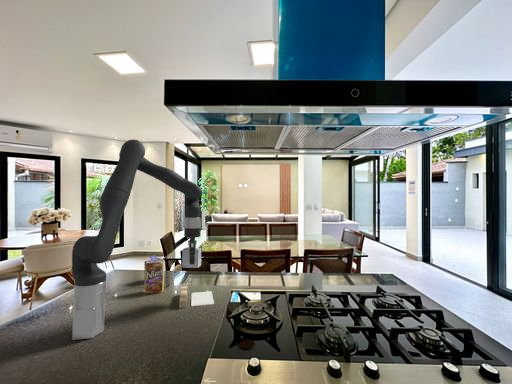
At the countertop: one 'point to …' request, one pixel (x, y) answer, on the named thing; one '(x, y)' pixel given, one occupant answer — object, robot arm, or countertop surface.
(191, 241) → the robot arm
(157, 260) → the ink cartridge box
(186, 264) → the medicine box
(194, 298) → the mat
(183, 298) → the ledge
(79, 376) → the countertop surface
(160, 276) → the candy box
